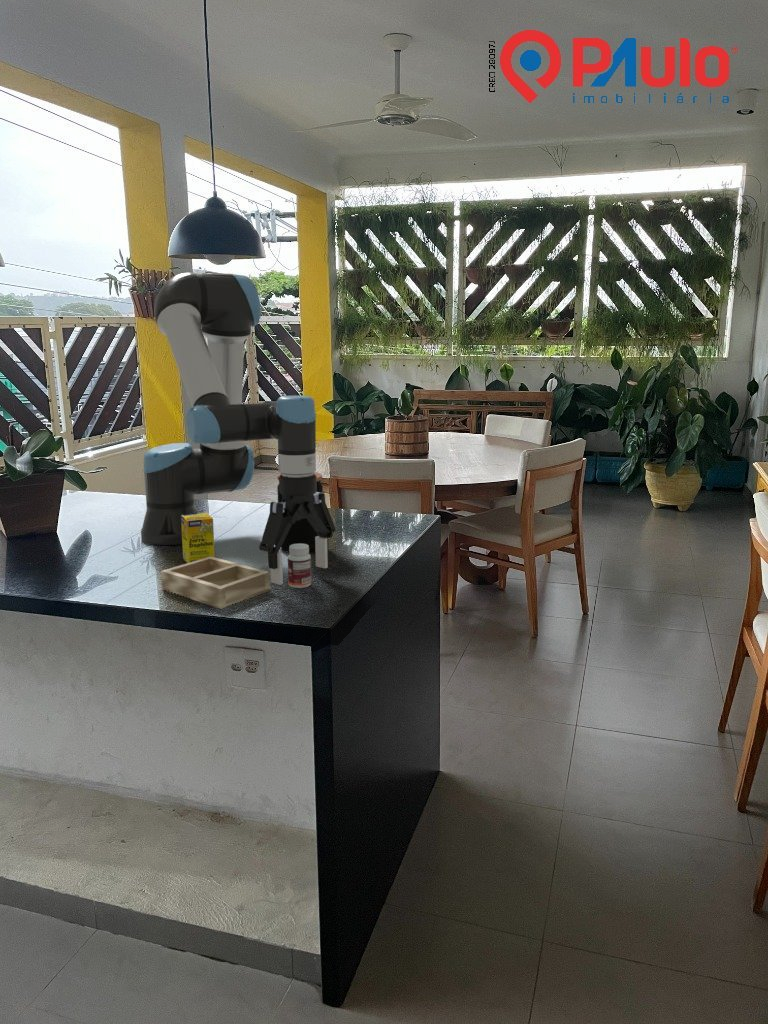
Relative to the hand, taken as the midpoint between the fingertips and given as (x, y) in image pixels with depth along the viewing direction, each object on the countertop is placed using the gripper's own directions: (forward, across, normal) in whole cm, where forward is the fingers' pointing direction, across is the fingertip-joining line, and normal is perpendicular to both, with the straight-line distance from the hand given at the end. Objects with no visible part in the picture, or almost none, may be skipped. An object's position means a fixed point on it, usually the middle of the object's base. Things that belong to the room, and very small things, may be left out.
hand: (300, 575), depth 158 cm
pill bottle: (+2, 0, 0) cm, 2 cm away
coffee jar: (+2, +20, +18) cm, 27 cm away
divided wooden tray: (+2, -13, +11) cm, 17 cm away
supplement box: (+2, -3, +28) cm, 28 cm away
